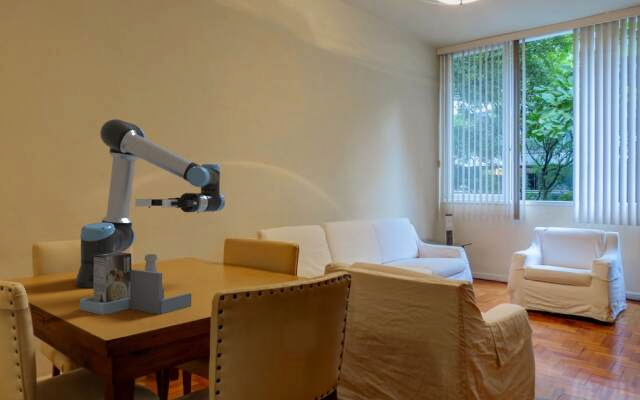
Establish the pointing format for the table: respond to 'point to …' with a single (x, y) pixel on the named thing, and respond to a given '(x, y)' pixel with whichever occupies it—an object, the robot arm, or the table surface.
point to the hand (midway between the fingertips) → (149, 203)
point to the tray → (104, 306)
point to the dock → (153, 294)
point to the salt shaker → (150, 262)
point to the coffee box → (111, 276)
